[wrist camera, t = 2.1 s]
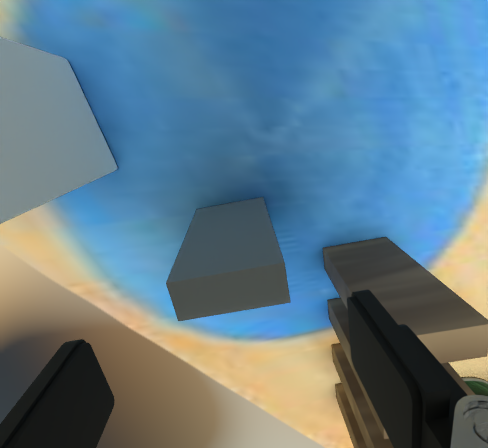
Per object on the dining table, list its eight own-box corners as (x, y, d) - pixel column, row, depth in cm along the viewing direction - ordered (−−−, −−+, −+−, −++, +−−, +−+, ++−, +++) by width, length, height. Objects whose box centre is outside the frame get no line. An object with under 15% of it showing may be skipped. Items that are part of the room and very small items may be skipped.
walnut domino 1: (331, 344, 26) (384, 471, 17) (386, 335, 26) (470, 459, 17) (333, 361, 27) (384, 491, 18) (386, 352, 27) (467, 480, 17)
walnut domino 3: (322, 247, 23) (383, 340, 13) (385, 236, 22) (492, 323, 13) (324, 269, 23) (383, 372, 14) (386, 259, 23) (486, 356, 14)
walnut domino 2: (335, 383, 28) (384, 518, 19) (386, 376, 28) (462, 508, 18) (336, 398, 29) (384, 534, 19) (386, 390, 29) (459, 525, 19)
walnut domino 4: (327, 299, 24) (384, 414, 15) (386, 289, 24) (480, 400, 15) (329, 318, 25) (384, 439, 16) (386, 309, 25) (476, 425, 16)
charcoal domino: (196, 209, 21) (165, 283, 12) (263, 196, 21) (284, 262, 12) (202, 233, 22) (178, 321, 13) (267, 221, 22) (290, 302, 12)
